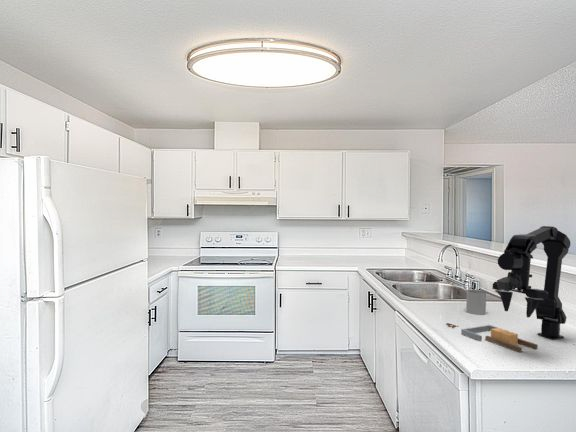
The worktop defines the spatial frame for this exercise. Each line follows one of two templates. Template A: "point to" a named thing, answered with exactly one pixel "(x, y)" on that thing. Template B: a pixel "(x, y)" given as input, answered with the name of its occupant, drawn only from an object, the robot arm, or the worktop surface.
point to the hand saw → (450, 325)
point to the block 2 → (509, 337)
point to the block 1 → (496, 333)
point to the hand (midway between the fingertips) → (516, 314)
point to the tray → (472, 331)
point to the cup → (476, 302)
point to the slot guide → (511, 346)
